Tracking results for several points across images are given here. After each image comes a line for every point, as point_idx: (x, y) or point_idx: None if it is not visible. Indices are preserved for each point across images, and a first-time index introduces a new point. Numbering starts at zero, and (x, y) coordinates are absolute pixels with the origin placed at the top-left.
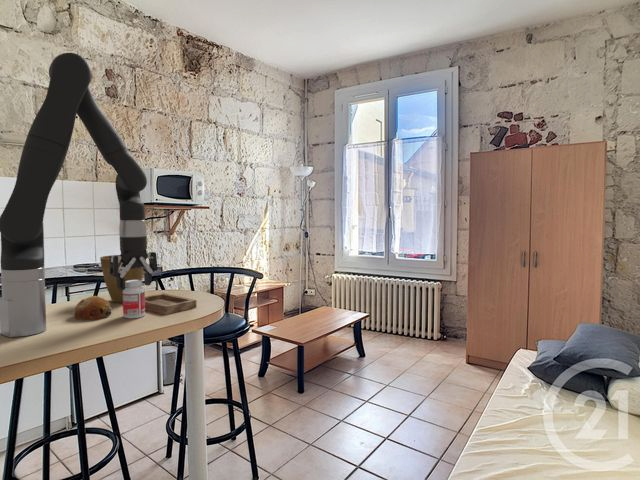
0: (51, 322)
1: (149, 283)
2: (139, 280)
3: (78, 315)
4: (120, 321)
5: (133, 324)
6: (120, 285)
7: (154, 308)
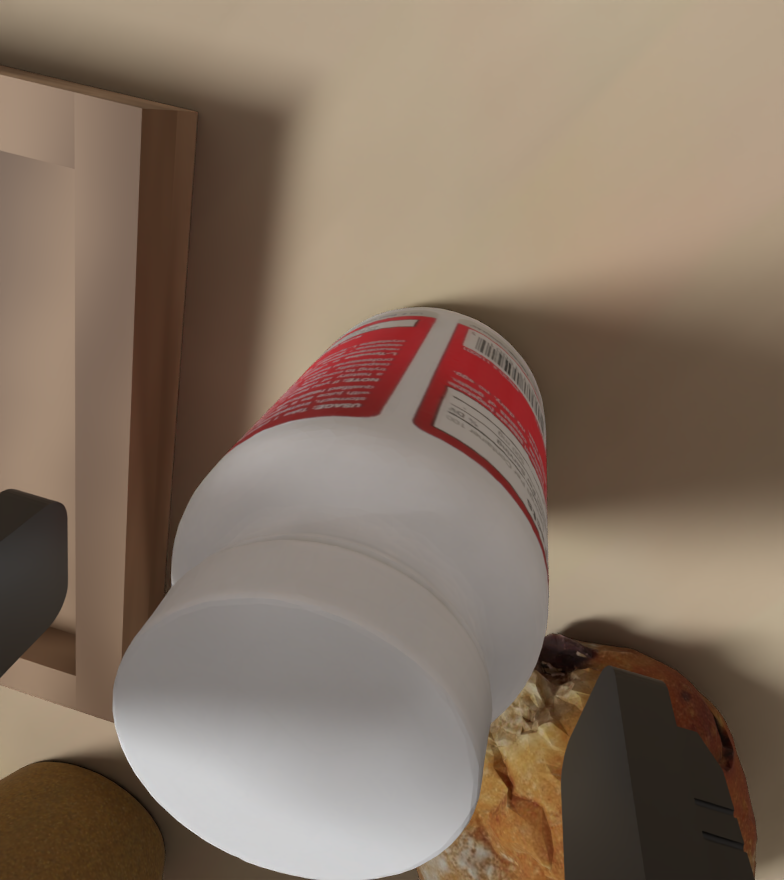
0: None
1: (15, 509)
2: (158, 690)
3: None
4: (666, 403)
5: (745, 147)
6: (702, 792)
7: (161, 359)
